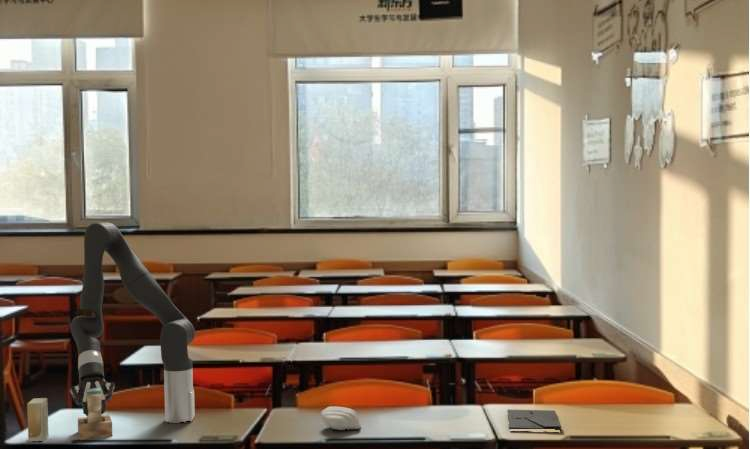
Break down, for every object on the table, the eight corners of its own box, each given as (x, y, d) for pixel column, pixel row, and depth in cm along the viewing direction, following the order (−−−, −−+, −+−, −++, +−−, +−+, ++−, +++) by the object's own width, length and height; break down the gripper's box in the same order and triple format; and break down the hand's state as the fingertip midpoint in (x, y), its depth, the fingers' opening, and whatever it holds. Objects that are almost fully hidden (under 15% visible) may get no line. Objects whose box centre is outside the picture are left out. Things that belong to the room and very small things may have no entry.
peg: (101, 425, 254) (99, 387, 254) (102, 428, 251) (101, 390, 250) (87, 426, 253) (86, 389, 252) (88, 430, 249) (87, 391, 248)
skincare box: (34, 436, 250) (33, 397, 249) (49, 436, 250) (48, 397, 250) (27, 442, 243) (26, 403, 243) (42, 442, 244) (41, 402, 243)
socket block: (109, 428, 258) (108, 414, 258) (112, 435, 249) (112, 421, 249) (78, 431, 254) (77, 418, 254) (80, 440, 245) (79, 425, 245)
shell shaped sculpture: (312, 429, 253) (311, 409, 253) (340, 420, 262) (340, 401, 262) (341, 437, 244) (340, 416, 244) (369, 428, 254) (369, 408, 253)
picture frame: (561, 435, 245) (555, 416, 266) (561, 426, 245) (555, 408, 266) (509, 434, 248) (507, 415, 268) (509, 424, 247) (507, 407, 268)
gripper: (67, 363, 255) (70, 410, 244) (114, 358, 261) (119, 404, 250) (67, 376, 260) (70, 422, 249) (113, 371, 266) (117, 417, 255)
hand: (94, 413), depth 250 cm, fingers closed on peg, 4 cm apart
